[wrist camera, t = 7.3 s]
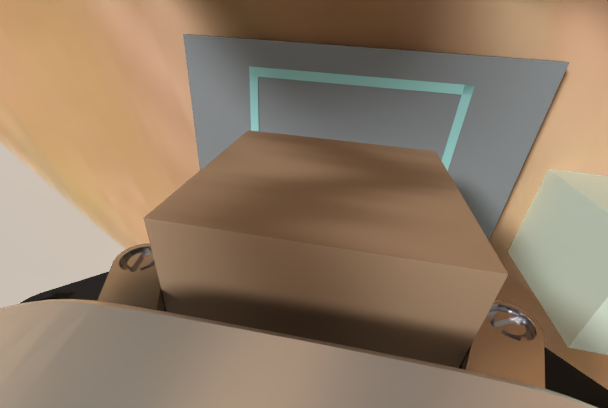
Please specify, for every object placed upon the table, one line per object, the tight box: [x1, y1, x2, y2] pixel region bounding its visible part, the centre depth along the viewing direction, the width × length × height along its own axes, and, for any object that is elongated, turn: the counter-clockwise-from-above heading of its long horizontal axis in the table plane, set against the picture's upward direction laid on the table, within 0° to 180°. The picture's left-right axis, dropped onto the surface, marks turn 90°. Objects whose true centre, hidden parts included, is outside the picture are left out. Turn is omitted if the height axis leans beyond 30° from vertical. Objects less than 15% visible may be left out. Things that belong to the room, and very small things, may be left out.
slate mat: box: [183, 34, 569, 241], centre depth 16 cm, size 16×12×1 cm
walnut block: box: [144, 130, 508, 368], centre depth 10 cm, size 6×6×6 cm
